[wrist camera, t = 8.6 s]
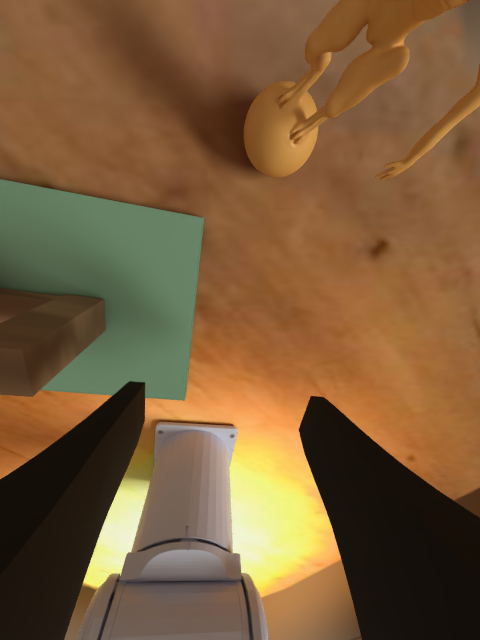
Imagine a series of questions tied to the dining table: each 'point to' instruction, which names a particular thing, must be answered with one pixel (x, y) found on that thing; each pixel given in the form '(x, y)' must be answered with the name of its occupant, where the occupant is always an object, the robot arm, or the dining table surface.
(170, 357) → the board
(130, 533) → the dining table surface
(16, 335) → the striker
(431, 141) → the figurine
